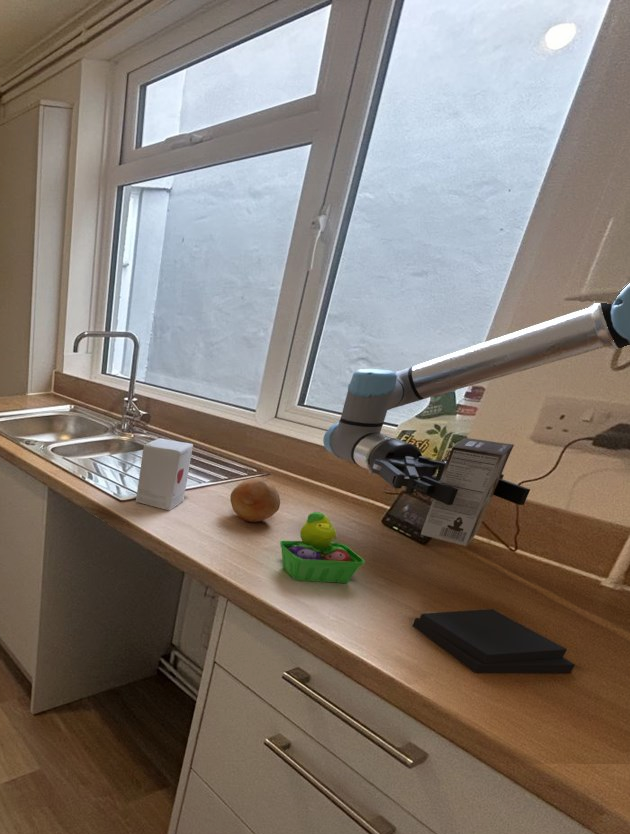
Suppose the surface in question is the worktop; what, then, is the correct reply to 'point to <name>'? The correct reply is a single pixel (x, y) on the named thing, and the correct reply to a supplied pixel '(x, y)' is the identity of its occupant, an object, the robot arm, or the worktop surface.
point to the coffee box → (467, 489)
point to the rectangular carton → (164, 473)
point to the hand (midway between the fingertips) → (488, 497)
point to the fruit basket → (319, 553)
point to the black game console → (493, 642)
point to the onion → (255, 499)
